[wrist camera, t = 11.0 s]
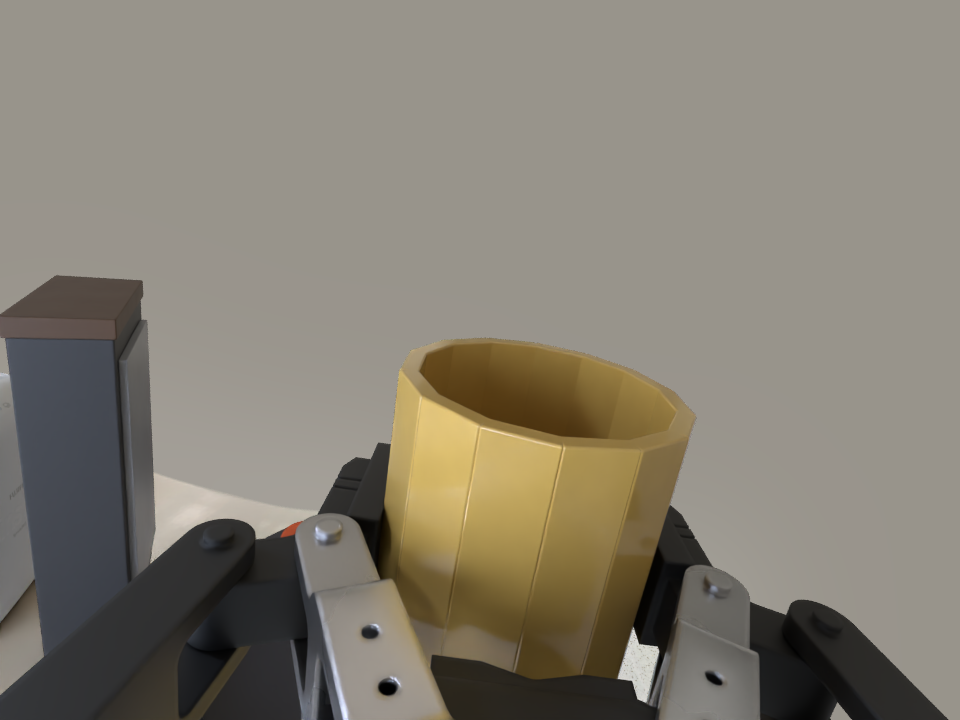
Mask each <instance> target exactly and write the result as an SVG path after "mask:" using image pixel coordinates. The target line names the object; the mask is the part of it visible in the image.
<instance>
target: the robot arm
mask: <svg viewBox="0 0 960 720" xmlns="http://www.w3.org/2000/svg"><path fill="white" fill-rule="evenodd" d="M390 447H391V444H384V443H378V444H377V447H376V449H375V451H374V453H373V456H372V458H371V459H365V458H357V457H356V458H354V459H353V460H351V461H350V462H348V463H347V464H345V465H344V466H343V467H342V469H341V471H340V473H339V475H338V478H337V479H336V481H335V483H334V485H333V487H332V488H331V490H330V492H329V494H328V496H327V498H326V499H325V501H324V504H323V505H322V507H321V509H320V511H319V513H318V515H315V516H312V517H309V518H307V519H306V520H304V521H303V522H301V523H300V525H299V526H298V527H297V529H296V533H295V534H294V535H290V536H286V537H280V538H269V539H256V540H255V536H256V535H255V531H254V529H253V528H252V527H251V526H250V525H249V524H247V523H245V522H243V521H240V520H235V519H217V520H212V521H208V522H205V523H202V524H200V525H197V526H195V527H194V528H192V529H191V530H189V531H188V532H187V533H186V534H185V535H183V536H182V537H181V538H180V539H179V540H178V541H177V542H175V543H174V544H173V545H172V546H171V547H170V548H168V549H167V550H166V551H165V552H164V553H163V554H162V555H160V556H159V557H158V558H157V559H156V560H155V561H154V562H152V563H151V564H150V565H149V566H148V567H147V568H146V569H144V570H143V571H142V572H141V573H140V574H139V575H138V576H136V577H135V578H134V579H133V580H132V581H131V582H130V583H128V584H127V585H126V586H125V587H124V588H123V589H121V590H120V591H119V592H118V593H117V594H116V595H115V596H113V597H112V598H111V599H110V600H109V601H108V602H107V603H105V604H104V605H103V606H102V607H101V608H100V609H99V610H97V611H96V612H95V613H94V614H93V615H92V616H91V617H89V618H88V619H87V620H86V621H85V622H84V623H83V624H81V625H80V626H79V627H78V628H77V629H76V630H74V631H73V632H72V633H71V634H70V635H69V636H68V637H66V638H65V639H64V640H63V641H62V642H61V643H60V644H58V645H57V646H56V647H55V648H54V649H53V650H52V651H50V652H49V653H48V654H47V655H46V656H45V657H44V658H42V659H41V660H40V661H39V662H38V663H37V664H36V665H34V666H33V667H32V668H31V669H30V670H29V671H27V672H26V673H25V674H24V675H23V676H22V677H21V678H19V679H18V680H17V681H16V682H15V683H14V684H13V685H11V686H10V687H9V688H8V689H7V690H6V691H5V692H3V693H2V694H1V695H0V720H200V719H201V718H202V716H203V715H204V713H205V712H206V711H207V709H208V708H209V706H210V705H211V703H212V702H213V701H214V699H215V698H216V696H217V695H218V694H219V692H220V691H221V689H222V688H223V686H224V685H225V684H226V682H227V681H228V679H229V678H230V676H231V675H232V674H233V672H234V671H235V669H236V668H237V666H238V665H239V664H240V662H241V661H242V659H243V658H244V657H245V655H246V654H247V652H248V651H249V649H250V647H251V646H253V645H260V644H267V643H274V642H281V641H288V640H290V643H291V649H292V656H293V662H294V669H295V675H296V682H297V688H298V695H299V701H300V708H301V720H831V719H830V717H831V715H832V712H833V710H834V708H835V706H836V704H837V702H838V703H839V704H840V706H841V707H842V708H843V709H844V710H845V712H846V713H847V714H848V715H849V717H850V718H851V719H852V720H948V719H947V718H946V717H945V716H944V715H943V714H942V713H941V712H940V711H939V710H938V709H937V708H936V707H935V706H934V705H933V704H932V703H931V702H930V701H929V700H928V699H927V698H926V697H925V696H924V695H923V694H922V693H921V692H920V691H919V690H918V689H917V688H916V687H915V686H914V685H913V684H912V683H911V682H910V681H909V680H908V679H907V678H906V676H904V675H903V674H902V672H901V671H899V669H898V668H896V666H895V665H894V664H893V663H892V662H890V660H889V659H887V657H886V656H885V655H884V654H883V653H881V652H880V650H878V649H877V647H876V646H875V645H874V644H873V643H872V642H871V641H870V640H869V639H868V638H867V637H866V636H865V635H863V633H862V632H861V631H860V630H859V629H858V628H857V627H856V626H855V625H854V624H853V623H852V622H850V621H849V620H848V619H847V618H846V617H844V616H843V615H841V614H840V613H838V612H837V611H835V610H833V609H831V608H829V607H827V606H825V605H822V604H820V603H817V602H813V601H809V600H797V601H794V602H792V603H791V605H790V607H789V610H788V612H787V614H786V615H784V614H782V613H779V612H776V611H773V610H770V609H767V608H765V607H762V606H759V605H756V604H754V603H752V602H750V596H749V593H748V592H747V590H746V588H745V587H744V586H743V585H742V584H741V583H740V582H739V581H738V580H736V579H735V578H734V577H732V576H731V575H729V574H728V573H726V572H724V571H722V570H719V569H717V568H714V567H713V566H712V565H711V563H710V562H709V560H708V558H707V557H706V555H705V553H704V551H703V550H702V548H701V547H700V545H699V543H698V541H697V540H696V539H695V537H694V535H693V533H692V531H691V530H690V529H689V526H688V525H687V523H686V522H685V520H684V518H683V516H682V515H681V514H680V513H679V512H678V511H677V510H675V509H674V508H673V507H672V506H671V505H670V507H669V511H668V514H667V517H666V521H665V524H664V527H663V531H662V534H661V537H660V541H659V544H658V547H657V551H656V554H655V557H654V561H653V564H652V567H651V571H650V574H649V577H648V580H647V584H646V587H645V590H644V594H643V597H642V600H641V604H640V607H639V610H638V614H637V617H636V620H635V624H634V630H635V633H636V636H637V639H638V642H639V644H643V645H650V646H658V649H659V654H658V658H657V661H656V664H655V667H654V672H653V676H652V680H651V685H650V689H649V693H648V698H647V702H646V703H645V702H642V701H640V700H637V696H636V693H635V690H634V686H633V683H632V681H628V680H620V679H613V678H605V677H598V676H590V675H575V676H566V677H556V678H547V679H530V678H527V677H524V676H521V675H519V674H516V673H513V672H510V671H508V670H505V669H502V668H499V667H496V666H494V665H491V664H488V663H485V662H483V661H477V660H470V659H462V658H454V657H447V656H439V655H432V657H431V664H430V667H429V664H428V662H427V659H426V657H425V655H424V652H423V650H422V647H421V645H420V643H419V640H418V638H417V635H416V633H415V631H414V628H413V626H412V623H411V621H410V619H409V616H408V614H407V611H406V609H405V607H404V604H403V602H402V599H401V597H400V595H399V592H398V590H397V587H396V585H395V583H394V581H393V580H392V579H391V578H387V579H382V580H380V578H379V575H378V572H377V564H378V555H379V546H380V537H381V529H382V520H383V511H384V499H385V490H386V482H387V473H388V464H389V456H390Z"/></svg>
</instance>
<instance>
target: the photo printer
mask: <svg viewBox="0 0 960 720" xmlns="http://www.w3.org/2000/svg"><path fill="white" fill-rule="evenodd" d="M34 579H35V577H34V569H33V561H32V552H31V544H30V536H29V528H28V520H27V512H26V504H25V495H24V487H23V479H22V471H21V463H20V455H19V447H18V438H17V430H16V422H15V414H14V406H13V398H12V390H11V381H10V374H5V373H0V622H1V621H2V620H3V618H4V617H5V616H6V615H7V614H8V612H9V611H10V610H11V609H12V607H13V606H14V605H15V604H16V602H17V601H18V600H19V598H20V597H21V596H22V594H23V593H24V592H25V591H26V589H27V588H28V587H29V585H30V584H31V583H32V581H33V580H34Z"/></svg>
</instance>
